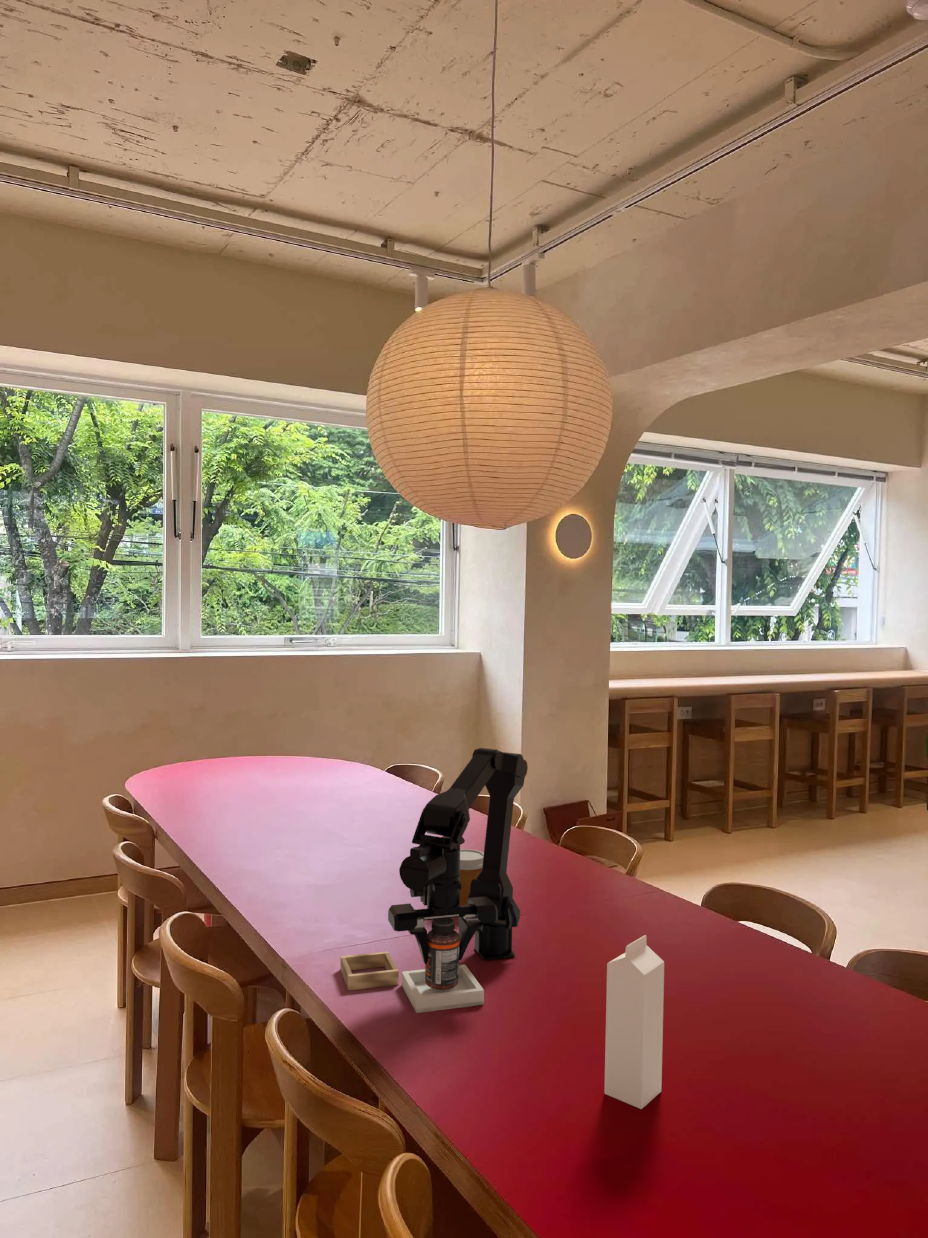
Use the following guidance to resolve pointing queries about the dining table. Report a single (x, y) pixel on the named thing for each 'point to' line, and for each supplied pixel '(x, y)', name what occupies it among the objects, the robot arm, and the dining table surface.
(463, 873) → the disposable coffee cup
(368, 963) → the collar
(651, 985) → the milk
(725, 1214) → the dining table surface
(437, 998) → the tray
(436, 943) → the supplement bottle
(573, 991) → the dining table surface
